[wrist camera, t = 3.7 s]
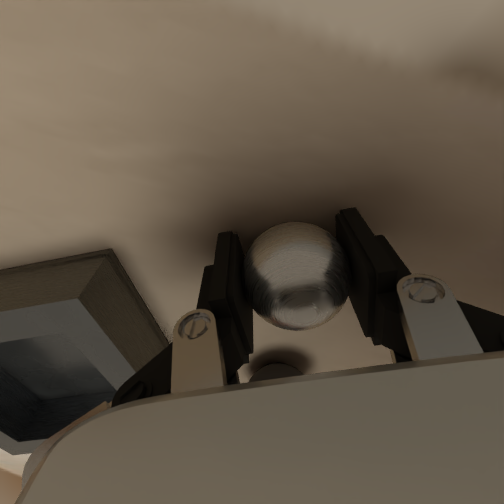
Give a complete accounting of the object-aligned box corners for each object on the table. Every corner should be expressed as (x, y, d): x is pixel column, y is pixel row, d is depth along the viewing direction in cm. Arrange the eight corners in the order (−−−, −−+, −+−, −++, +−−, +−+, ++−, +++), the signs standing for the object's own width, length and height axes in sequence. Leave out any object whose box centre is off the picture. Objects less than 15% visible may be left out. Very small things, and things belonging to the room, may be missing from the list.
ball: (305, 344, 16) (319, 418, 13) (311, 382, 19) (325, 453, 15) (237, 354, 17) (234, 428, 14) (251, 390, 19) (252, 460, 16)
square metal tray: (111, 248, 12) (77, 298, 10) (193, 384, 19) (185, 435, 16) (-104, 290, 14) (-181, 343, 11) (41, 404, 20) (12, 455, 17)
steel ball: (333, 194, 11) (369, 254, 8) (337, 272, 13) (366, 345, 10) (232, 214, 11) (226, 279, 8) (253, 286, 14) (254, 360, 10)
